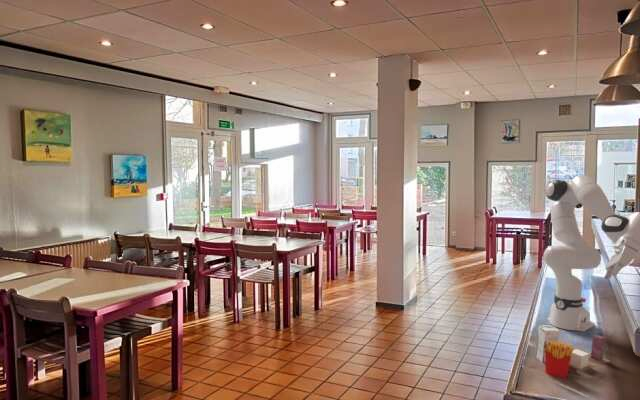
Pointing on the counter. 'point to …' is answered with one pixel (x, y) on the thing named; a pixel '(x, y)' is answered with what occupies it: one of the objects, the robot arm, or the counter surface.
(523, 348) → the counter surface
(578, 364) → the cream cube
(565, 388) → the counter surface
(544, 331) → the syrup box
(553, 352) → the french fries
